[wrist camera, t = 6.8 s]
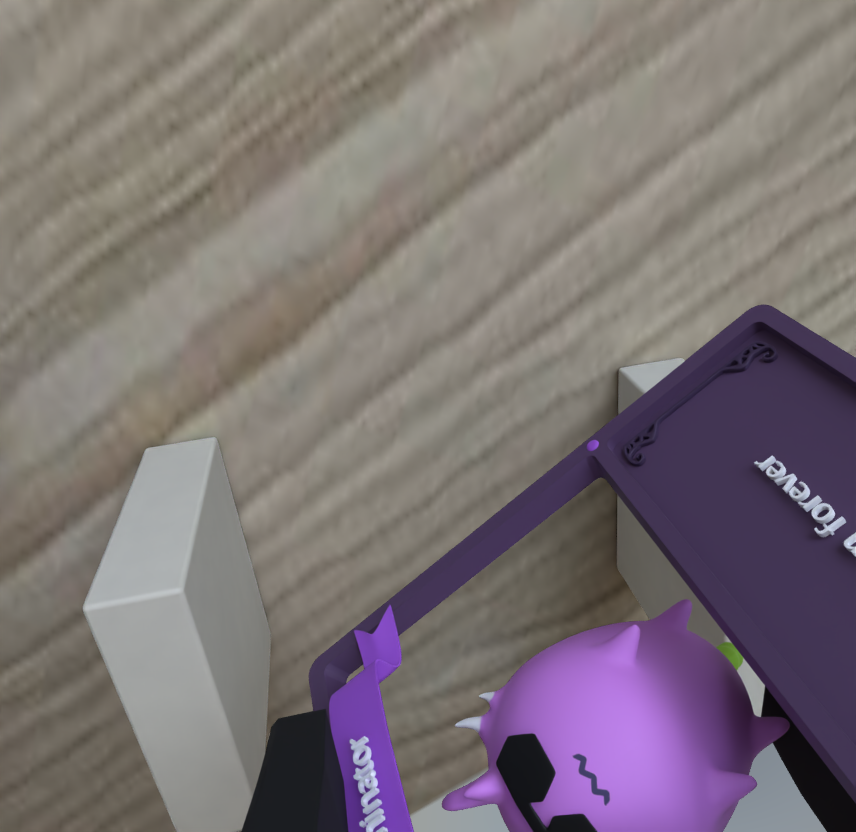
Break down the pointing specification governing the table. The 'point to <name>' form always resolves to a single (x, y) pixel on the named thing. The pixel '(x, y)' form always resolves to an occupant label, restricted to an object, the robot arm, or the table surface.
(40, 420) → the table surface
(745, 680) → the cream blocks
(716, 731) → the game card
